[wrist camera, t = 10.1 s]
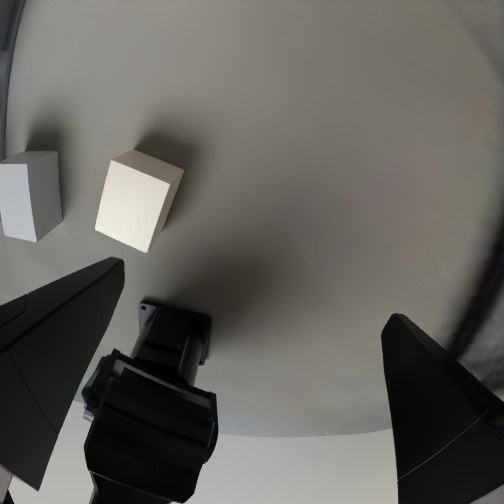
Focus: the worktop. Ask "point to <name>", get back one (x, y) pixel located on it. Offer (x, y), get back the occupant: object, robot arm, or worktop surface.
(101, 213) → the cream rectangular block
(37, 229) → the grey block
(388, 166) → the worktop surface
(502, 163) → the worktop surface
